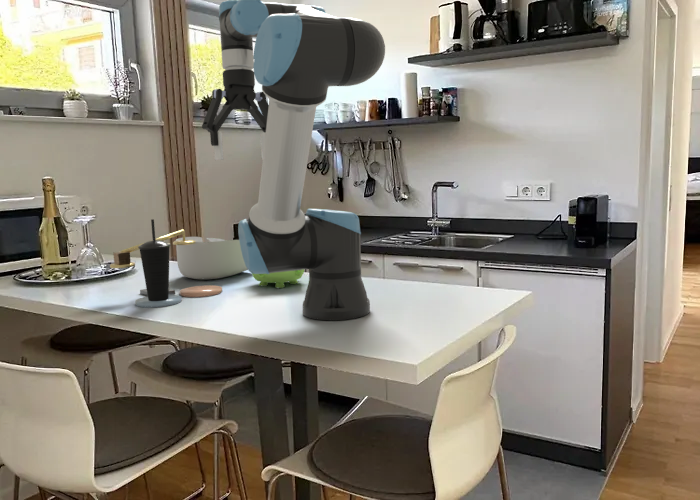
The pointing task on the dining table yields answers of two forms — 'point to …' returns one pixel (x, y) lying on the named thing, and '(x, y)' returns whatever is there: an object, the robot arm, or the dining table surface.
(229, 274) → the bowl
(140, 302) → the dish low side
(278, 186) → the robot arm
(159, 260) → the drinking cup
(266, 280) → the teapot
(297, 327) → the dining table surface
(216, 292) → the orange disc
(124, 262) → the balance
